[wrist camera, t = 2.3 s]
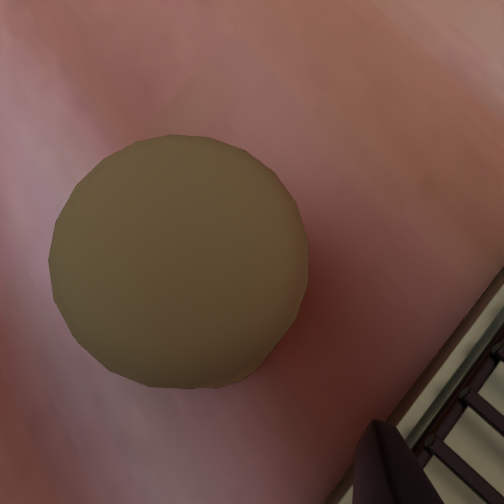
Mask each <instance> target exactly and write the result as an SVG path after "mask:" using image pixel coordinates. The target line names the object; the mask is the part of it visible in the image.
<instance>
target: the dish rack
mask: <svg viewBox="0 0 504 504" xmlns="http://www.w3.org/2000/svg"><path fill="white" fill-rule="evenodd" d="M386 422H389V423H392V424H394V425H395V426H396V427H397V429H398V430H399V432H400V433H401V435H402V437H403V438H404V440H405V441H406V443H407V445H408V446H409V448H410V449H411V451H412V453H413V454H414V456H415V457H416V459H417V460H418V462H419V464H420V465H421V467H422V468H423V470H424V472H425V473H426V475H427V476H428V478H429V480H430V481H431V483H432V484H433V486H434V488H435V489H436V491H437V492H438V494H439V496H440V497H441V499H442V500H443V502H444V504H504V268H503V269H502V270H501V271H500V273H499V274H498V275H497V277H496V278H495V279H494V281H493V282H492V283H491V285H490V286H489V287H488V288H487V290H486V291H485V292H484V294H483V295H482V296H481V298H480V299H479V300H478V302H477V303H476V304H475V305H474V307H473V308H472V309H471V311H470V312H469V313H468V315H467V316H466V317H465V319H464V320H463V321H462V323H461V324H460V325H459V326H458V328H457V329H456V330H455V332H454V333H453V334H452V336H451V337H450V338H449V340H448V341H447V342H446V343H445V345H444V346H443V347H442V349H441V350H440V351H439V353H438V354H437V355H436V357H435V358H434V359H433V360H432V362H431V363H430V364H429V366H428V367H427V368H426V370H425V371H424V372H423V374H422V375H421V376H420V377H419V379H418V380H417V381H416V383H415V384H414V385H413V387H412V388H411V389H410V391H409V392H408V393H407V395H406V396H405V397H404V398H403V400H402V401H401V402H400V404H399V405H398V406H397V408H396V409H395V410H394V412H393V413H392V414H391V415H390V417H389V418H388V419H387V421H386ZM354 464H355V463H354ZM354 464H353V465H352V467H351V468H350V469H349V470H348V472H347V473H346V474H345V476H344V477H343V478H342V480H341V481H340V482H339V484H338V485H337V486H336V487H335V489H334V490H333V491H332V493H331V494H330V495H329V497H328V498H327V499H326V501H325V502H324V503H323V504H352V496H353V480H354Z"/></svg>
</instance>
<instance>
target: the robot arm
mask: <svg viewBox="0 0 504 504" xmlns="http://www.w3.org/2000/svg"><path fill="white" fill-rule="evenodd" d="M352 504H444V502H443V500H442V499H441V497H440V496H439V494H438V492H437V491H436V489H435V488H434V486H433V484H432V483H431V481H430V480H429V478H428V476H427V475H426V473H425V472H424V470H423V468H422V467H421V465H420V464H419V462H418V460H417V459H416V457H415V456H414V454H413V453H412V451H411V449H410V448H409V446H408V445H407V443H406V441H405V440H404V438H403V437H402V435H401V433H400V432H399V430H398V429H397V427H396V426H395V425H394V424H392V423H389V422H385V421H382V420H379V419H373V420H372V421H371V422H370V423H369V425H368V427H367V429H366V430H365V432H364V434H363V436H362V437H361V439H360V441H359V443H358V445H357V448H356V452H355V464H354V480H353V496H352Z"/></svg>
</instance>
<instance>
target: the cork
mask: <svg viewBox="0 0 504 504" xmlns="http://www.w3.org/2000/svg"><path fill="white" fill-rule="evenodd" d="M308 258H309V244H308V239H307V236H306V232H305V229H304V226H303V223H302V220H301V217H300V214H299V211H298V208H297V204H296V201H295V200H294V199H293V197H292V196H291V195H290V193H289V192H288V190H287V189H286V188H285V186H284V185H283V184H282V182H281V181H280V179H279V178H278V177H277V175H276V174H275V172H273V171H272V170H271V169H269V168H268V167H267V166H265V165H264V164H263V163H261V162H260V161H259V160H257V159H256V158H255V157H253V156H252V155H251V154H249V153H248V152H247V151H245V150H243V149H240V148H237V147H234V146H232V145H229V144H226V143H223V142H221V141H218V140H215V139H212V138H209V137H199V136H184V135H167V136H162V137H157V138H152V139H148V140H143V141H138V142H135V143H133V144H131V145H129V146H127V147H125V148H123V149H121V150H120V151H118V152H116V153H114V154H112V155H110V156H108V157H106V158H104V159H103V160H102V161H101V162H100V163H99V164H98V165H97V166H96V167H95V168H94V169H93V170H92V171H91V172H89V173H88V174H87V175H86V176H85V177H84V178H83V179H82V180H81V181H80V182H79V183H78V184H77V185H76V187H75V188H74V190H73V192H72V194H71V195H70V197H69V199H68V201H67V202H66V204H65V206H64V208H63V210H62V211H61V213H60V215H59V217H58V219H57V220H56V223H55V228H54V233H53V238H52V244H51V249H50V254H49V259H48V263H49V270H50V277H51V284H52V291H53V298H54V301H55V303H56V305H57V307H58V309H59V311H60V313H61V314H62V316H63V318H64V320H65V322H66V324H67V326H68V328H69V329H70V331H71V333H72V335H73V337H74V338H75V339H76V341H77V342H78V343H79V344H80V345H81V346H82V347H83V348H84V349H86V350H87V351H88V352H89V353H90V354H91V355H92V356H93V357H94V358H96V359H97V360H98V361H99V362H100V363H101V364H102V365H103V366H104V367H106V368H107V369H108V370H109V371H111V372H114V373H116V374H119V375H121V376H123V377H126V378H128V379H131V380H133V381H136V382H138V383H141V384H143V385H146V386H148V387H162V388H182V389H194V388H219V387H223V386H226V385H230V384H233V383H237V382H239V381H241V380H242V379H244V378H245V377H247V376H248V375H249V374H251V373H252V372H254V371H255V370H257V369H258V368H259V366H260V365H261V364H262V363H263V361H264V360H265V359H266V357H267V356H268V355H269V353H270V352H271V351H272V350H273V348H274V347H275V346H276V344H277V343H278V342H279V341H280V339H281V338H282V337H283V335H284V334H285V333H286V331H287V330H288V329H289V328H290V326H291V325H292V324H293V322H294V321H295V319H296V316H297V313H298V311H299V308H300V305H301V302H302V299H303V296H304V293H305V290H306V288H307V285H308Z"/></svg>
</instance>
